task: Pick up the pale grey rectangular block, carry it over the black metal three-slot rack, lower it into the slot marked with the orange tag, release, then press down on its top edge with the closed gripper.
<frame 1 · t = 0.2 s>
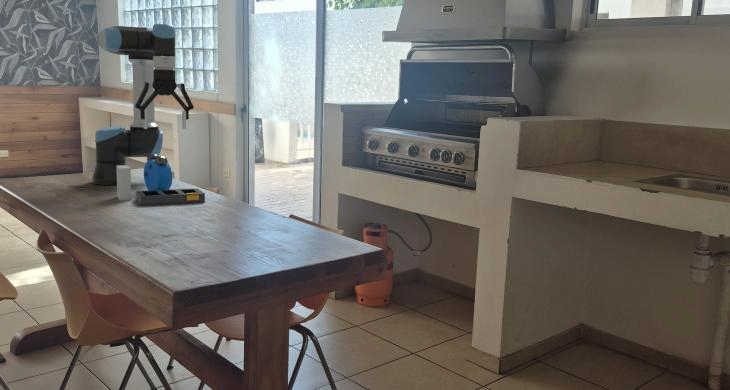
hand: (165, 128, 240), 27 cm above the table, fingers open, 13 cm apart
rack: (170, 201, 248), on the table
alarm clock: (157, 192, 264), on the table
pale grey rectangular block: (124, 198, 250), on the table
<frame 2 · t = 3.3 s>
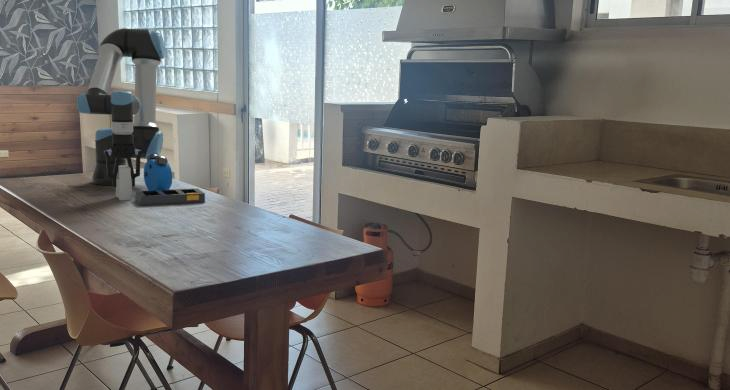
hand: (124, 195, 249), 1 cm above the table, fingers closed on pale grey rectangular block, 4 cm apart
pale grey rectangular block: (124, 198, 250), on the table, touching gripper
everything else where it was.
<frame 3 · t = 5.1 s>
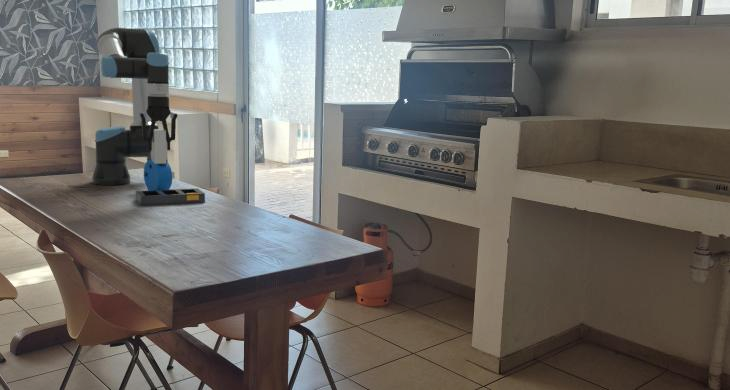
hand: (159, 159, 247), 15 cm above the table, fingers closed on pale grey rectangular block, 4 cm apart
pale grey rectangular block: (159, 162, 247), point 14 cm above the table, touching gripper
everything else where it was.
when the fingers open (4 cm above the table, at t = 7.1 s): pale grey rectangular block drops 2 cm, resting on rack.
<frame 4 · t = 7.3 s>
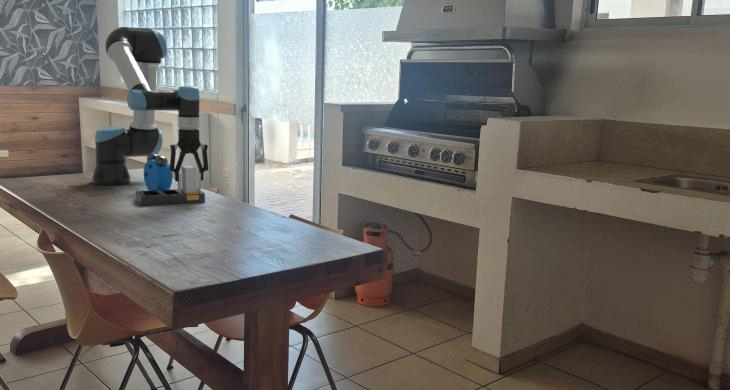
hand: (189, 189, 250), 4 cm above the table, fingers open, 7 cm apart
pale grey rectangular block: (189, 198, 251), point 1 cm above the table, touching rack
everything else where it was.
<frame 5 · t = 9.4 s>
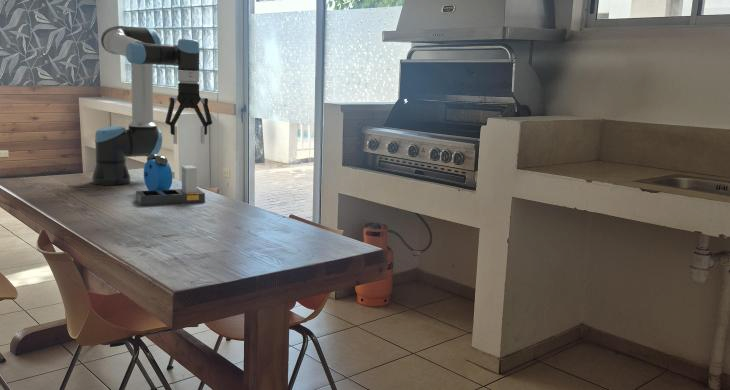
hand: (189, 143, 247), 22 cm above the table, fingers open, 9 cm apart
nothing on the table moved.
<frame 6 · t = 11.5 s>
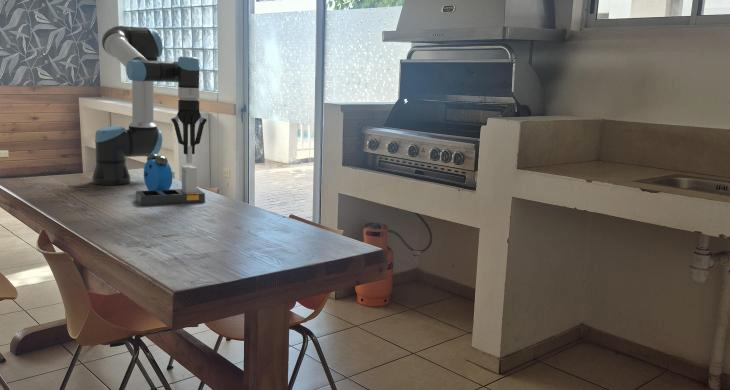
hand: (189, 162, 248), 14 cm above the table, fingers closed
nothing on the table moved.
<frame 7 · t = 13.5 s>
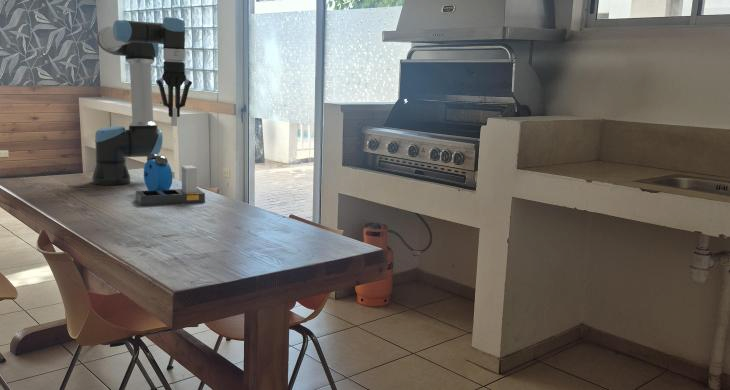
hand: (174, 125, 247), 28 cm above the table, fingers closed
nothing on the table moved.
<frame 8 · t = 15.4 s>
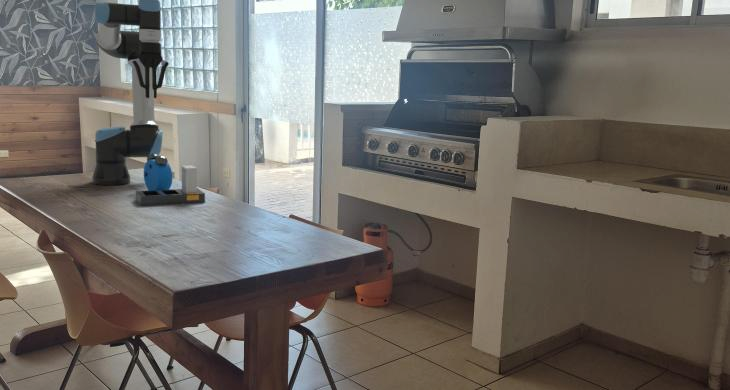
hand: (151, 106, 246), 34 cm above the table, fingers closed
nothing on the table moved.
at the end: pale grey rectangular block 0.0 cm from the target spot on the rack, point 0.8 cm above the rack's base; pale grey rectangular block tilted 0°; the gripper is holding nothing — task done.
